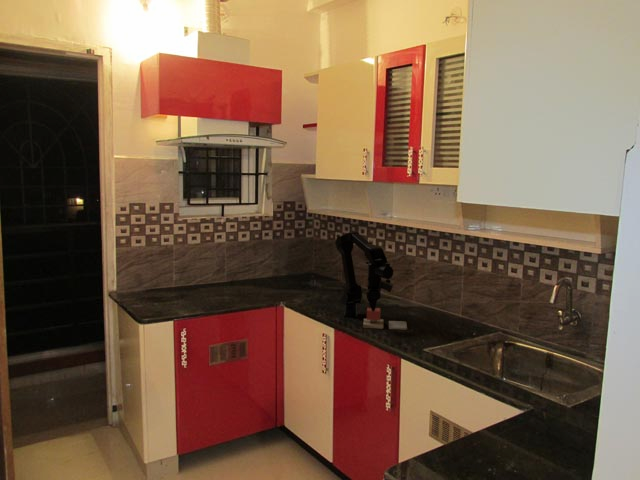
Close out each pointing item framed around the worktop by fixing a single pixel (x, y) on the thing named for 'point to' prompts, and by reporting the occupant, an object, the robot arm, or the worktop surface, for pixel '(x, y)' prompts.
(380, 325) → the post stand
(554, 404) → the worktop surface
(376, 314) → the red cuboid block
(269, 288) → the worktop surface
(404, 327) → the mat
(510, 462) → the worktop surface
